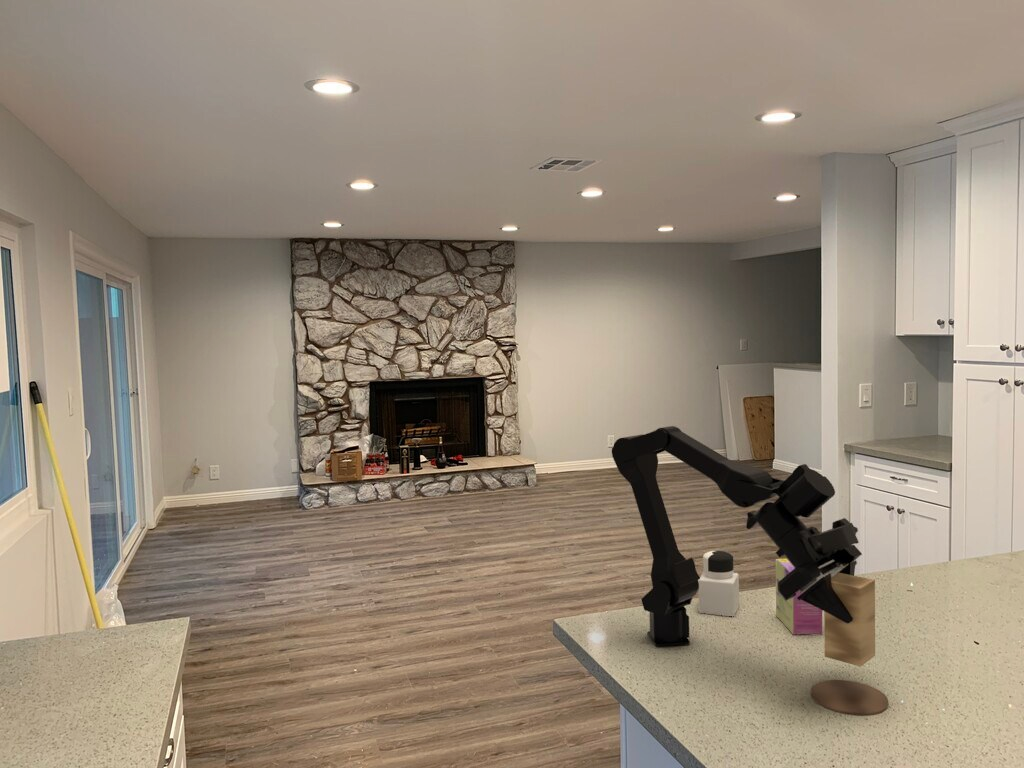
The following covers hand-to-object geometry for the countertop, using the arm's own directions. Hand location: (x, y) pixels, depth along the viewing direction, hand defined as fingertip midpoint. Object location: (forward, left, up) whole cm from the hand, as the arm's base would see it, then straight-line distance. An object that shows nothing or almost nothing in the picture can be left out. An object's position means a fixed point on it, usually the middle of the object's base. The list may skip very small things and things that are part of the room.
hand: (858, 616), depth 118 cm
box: (+5, +31, -13) cm, 34 cm away
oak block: (-1, +1, -7) cm, 7 cm away
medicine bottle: (-7, +42, -13) cm, 45 cm away
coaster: (-1, +1, -13) cm, 13 cm away
